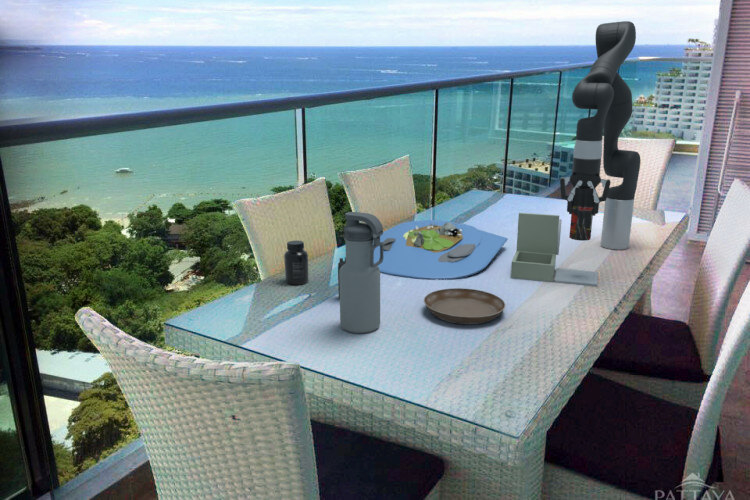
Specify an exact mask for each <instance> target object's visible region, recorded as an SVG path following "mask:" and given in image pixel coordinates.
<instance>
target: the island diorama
mask: <svg viewBox="0 0 750 500" xmlns="http://www.w3.org/2000/svg"><path fill="white" fill-rule="evenodd" d="M508 239H509V238H507V237H504V236H503V235H502V236H501V235H499V234H495V233H493V232H488V231H484V230H483V229H482V230H481V229H478V228H477V227H476V226H473V225H470V224H466V223H465V224H464V223H458V222H454V221H448V220H439V219H438V220H435V219H428V220H427V219H426V220H414V221H413V220H411V221H407V222H402V223H399V224H397V225H395V226H393V227H391V228H389V229H387V230H385V231H383V234H382V235H381V236H380V242H383V262H382V263H381V264H379V265H378V267H379V269H380V274H381V273H382V274H385V275H391V276H395V277H401V278H402V277H403V278H408V277H409V278H410V279H416V280H417V279H419V280H435V279H439V280H440V279H442V280H444V279H445V280H446V279H447V280H458V279H459V280H460V279H462V278H468V277H470V276H473V275H475V274H478V273H480V272H482V271H483V270H484V269H486V267H488V266H489V264H490V263H491V261H492V260H493V259H494V257H495V256H496V255H497V254H498V252H500V250H501V249H502V247H503V246H504V245H505V244H506V243H507V241H508ZM373 245H374V240H373ZM379 259H380V246H378V247H376V248H375V250H374V264H375V263H376V262H378V261H379ZM439 280H438V281H439ZM442 280H440V281H442Z"/></svg>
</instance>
